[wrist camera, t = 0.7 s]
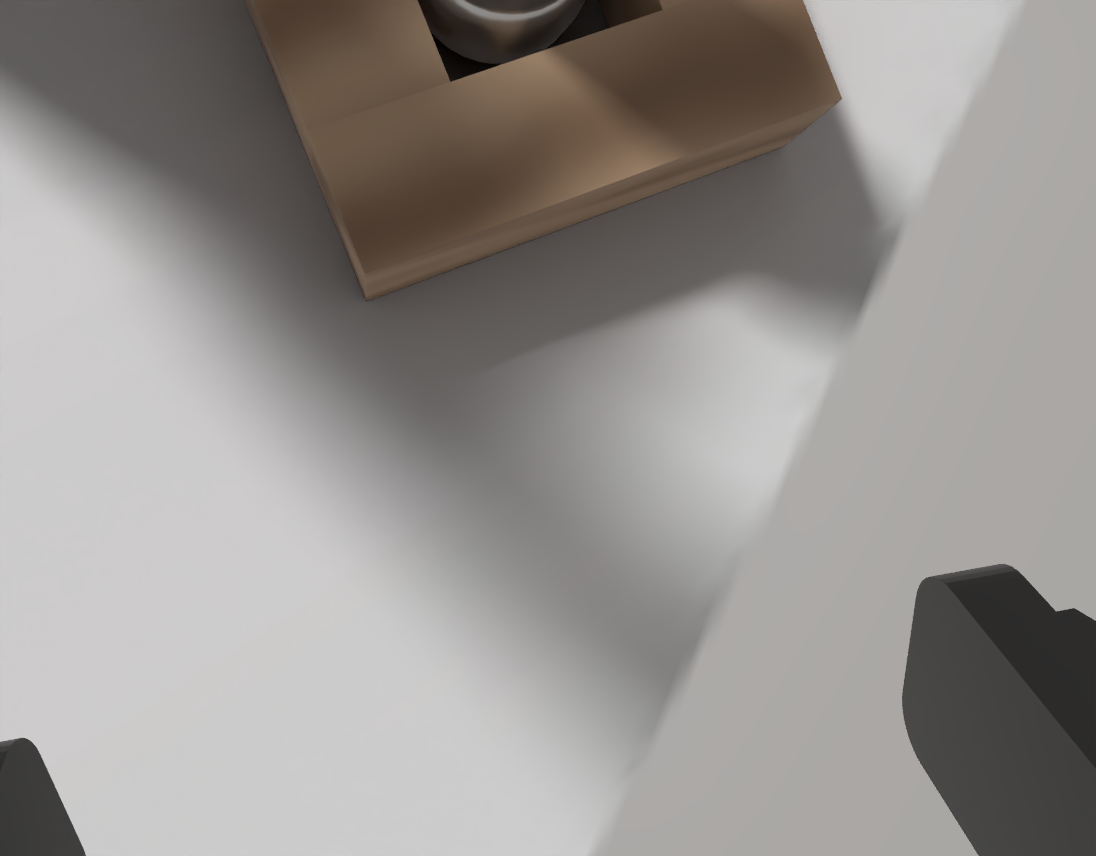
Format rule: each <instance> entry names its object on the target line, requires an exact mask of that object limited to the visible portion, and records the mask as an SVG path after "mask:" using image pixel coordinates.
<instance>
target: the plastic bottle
mask: <svg viewBox="0 0 1096 856" xmlns="http://www.w3.org/2000/svg"><path fill="white" fill-rule="evenodd" d="M584 2H585V0H418V3H419V5H420V8H421V10H422V13H423V15H424V17H425V20H426V22H427V25H428V27H429V30H430V31H431V32H432V34H433V35H434V36H435V37H436V38H437V39H438V40H440V41H441V42H442V43H443V44H444V45H445V46H446V47H448V48H449V49H451V50H453V51H454V52H456V53H458V54H460V55H461V56H463V57H466V58H469V59H472V60H475V61H478V62H484V63H491V64H504V63H508V62H511V61H514V60H517V59H520V58H523V57H525V56H528V55H531V54H534V53H537V52H540V51H543V50H544V49H546V48H547V47H548V46H550V45H551V44H552V43H553V42H555V41H556V39H557V38H558V37H559V36H560V35H561V34H562V33H563V32H564V31H565V30H566V29H567V27H568V26H569V25H570V24H571V23H572V21H573V20H574V19H575V18H576V17H577V15H578V13H579V11H580V9H581V8H582V6H583V4H584Z"/></svg>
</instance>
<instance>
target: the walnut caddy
mask: <svg viewBox="0 0 1096 856" xmlns="http://www.w3.org/2000/svg"><path fill="white" fill-rule="evenodd" d="M244 1H245V3H246V6H247V8H248V11H249V13H250V16H251V18H252V21H253V23H254V26H255V28H256V30H257V33H258V35H259V38H260V40H261V43H262V45H263V48H264V50H265V53H266V55H267V58H268V60H269V63H270V65H271V67H272V70H273V72H274V75H275V77H276V80H277V82H278V85H279V87H280V90H281V92H282V95H283V97H284V99H285V102H286V104H287V107H288V109H289V112H290V114H291V117H292V119H293V122H294V124H295V127H296V129H297V132H298V134H299V136H300V139H301V141H302V144H303V146H304V149H305V151H306V154H307V156H308V159H309V161H310V164H311V166H312V168H313V171H314V173H315V176H316V178H317V181H318V183H319V186H320V188H321V191H322V193H323V196H324V198H325V201H326V203H327V205H328V208H329V210H330V213H331V215H332V218H333V220H334V223H335V225H336V228H337V230H338V233H339V235H340V238H341V240H342V242H343V245H344V247H345V250H346V252H347V255H348V257H349V260H350V262H351V265H352V267H353V270H354V272H355V274H356V277H357V279H358V282H359V284H360V287H361V289H362V292H363V294H364V297H365V299H366V302H367V301H369V300H372V299H375V298H377V297H380V296H383V295H385V294H388V293H391V292H393V291H396V290H399V289H402V288H404V287H407V286H410V285H412V284H415V283H418V282H420V281H423V280H426V279H428V278H431V277H434V276H437V275H439V274H442V273H445V272H447V271H450V270H453V269H455V268H458V267H461V266H463V265H466V264H469V263H471V262H474V261H477V260H480V259H482V258H485V257H488V256H490V255H493V254H496V253H498V252H501V251H504V250H506V249H509V248H512V247H515V246H517V245H520V244H523V243H525V242H528V241H531V240H533V239H536V238H539V237H541V236H544V235H547V234H549V233H552V232H555V231H558V230H560V229H563V228H566V227H568V226H571V225H574V224H576V223H579V222H582V221H584V220H587V219H590V218H592V217H595V216H598V215H601V214H603V213H606V212H609V211H611V210H614V209H617V208H619V207H622V206H625V205H627V204H630V203H633V202H636V201H638V200H641V199H644V198H646V197H649V196H652V195H654V194H657V193H660V192H662V191H665V190H668V189H670V188H673V187H676V186H679V185H681V184H684V183H687V182H689V181H692V180H695V179H697V178H700V177H703V176H705V175H708V174H711V173H714V172H716V171H719V170H722V169H724V168H727V167H730V166H732V165H735V164H738V163H740V162H743V161H746V160H748V159H751V158H754V157H757V156H759V155H762V154H765V153H767V152H770V151H773V150H775V149H778V148H781V147H783V146H785V145H786V144H788V143H789V142H790V141H791V140H793V139H794V138H795V137H796V136H797V135H799V134H800V133H801V132H802V131H804V130H805V129H806V128H807V127H808V126H810V125H811V124H812V123H813V122H814V121H816V120H817V119H818V118H819V117H821V116H822V115H823V114H824V113H825V112H827V111H828V110H829V109H830V108H831V107H833V106H834V105H835V104H836V103H838V102H839V101H840V100H841V99H842V98H841V95H840V93H839V90H838V88H837V85H836V83H835V80H834V78H833V75H832V73H831V70H830V68H829V65H828V63H827V60H826V58H825V55H824V53H823V50H822V48H821V45H820V43H819V40H818V38H817V35H816V33H815V30H814V27H813V25H812V22H811V20H810V17H809V15H808V12H807V10H806V7H805V5H804V2H803V0H599V2H600V4H601V7H602V9H603V12H604V14H605V16H606V19H607V21H608V24H609V26H610V28H608V29H605V30H602V31H599V32H596V33H593V34H590V35H587V36H585V37H582V38H579V39H576V40H573V41H570V42H567V43H564V44H561V45H558V46H555V47H552V48H549V49H546V50H543V51H540V52H537V53H534V54H531V55H528V56H525V57H523V58H520V59H517V60H514V61H511V62H508V63H505V64H502V65H499V66H496V67H493V68H490V69H487V70H484V71H481V72H478V73H475V74H472V75H469V76H466V77H463V78H461V79H458V80H455V81H452V82H450V79H449V77H448V75H447V72H446V70H445V67H444V65H443V62H442V60H441V57H440V55H439V52H438V50H437V47H436V45H435V42H434V40H433V37H432V35H431V32H430V30H429V27H428V25H427V22H426V20H425V17H424V15H423V13H422V10H421V8H420V5H419V3H418V0H244Z"/></svg>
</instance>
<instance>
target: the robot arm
mask: <svg viewBox="0 0 1096 856" xmlns="http://www.w3.org/2000/svg"><path fill="white" fill-rule="evenodd" d="M902 702H903V703H902V706H903V714H904V720H905V724H906V729H907V732H908V736H909V739H910V742H911V744H912V747H913V749H914V751H915V753H916V756H917V758H918V759H919V761H920V763H921V765H922V766H923V768H924V769H925V771H926V773H927V774H928V776H929V777H930V779H931V781H932V782H933V784H934V785H935V787H936V788H937V790H938V791H939V793H940V794H941V796H942V798H943V800H944V801H945V802H946V804H947V806H948V807H949V809H950V811H951V812H952V814H953V815H954V817H955V819H956V820H957V821H958V823H959V825H960V827H961V828H962V830H963V831H964V833H965V834H966V836H967V838H968V839H969V841H970V842H971V844H972V845H973V847H974V849H975V850H976V852H977V854H978V855H979V856H1096V621H1095V620H1093V619H1092V618H1090V617H1088V616H1086V615H1085V614H1083V613H1081V612H1080V611H1078V610H1076V609H1074V608H1073V609H1068V610H1063V611H1057V612H1056V611H1055V610H1054V609H1053V608H1052V607H1051V606H1050V605H1049V603H1048V602H1047V601H1046V600H1045V599H1044V598H1043V597H1042V596H1041V595H1040V594H1039V593H1038V592H1037V590H1036V589H1035V588H1034V587H1033V586H1032V585H1031V584H1030V583H1029V582H1028V581H1027V580H1026V578H1025V577H1024V576H1023V575H1022V574H1020V573H1019V572H1018V571H1017V570H1016V569H1014V568H1013V567H1011V566H1009V565H1005V564H998V565H993V566H987V567H982V568H976V569H971V570H965V571H960V572H955V573H949V574H943V575H937V576H933V577H928V578H925V579H924V580H923V581H922V582H921V584H920V585H919V588H918V591H917V596H916V601H915V608H914V616H913V623H912V630H911V637H910V644H909V652H908V658H907V665H906V672H905V679H904V686H903V696H902ZM0 856H86V855H85V852H84V849H83V847H82V845H81V842H80V840H79V838H78V836H77V834H76V832H75V829H74V827H73V825H72V823H71V821H70V818H69V816H68V814H67V812H66V810H65V808H64V805H63V803H62V801H61V799H60V797H59V794H58V792H57V790H56V788H55V786H54V784H53V781H52V779H51V777H50V775H49V773H48V771H47V768H46V766H45V764H44V762H43V760H42V757H41V755H40V753H39V751H38V750H37V748H36V746H35V745H34V744H33V743H32V742H31V741H30V740H28V739H26V738H19V739H13V740H8V741H2V742H0Z"/></svg>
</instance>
